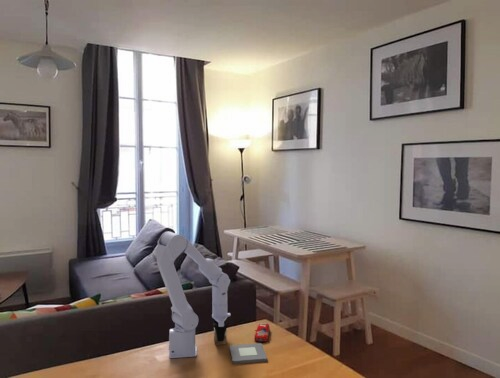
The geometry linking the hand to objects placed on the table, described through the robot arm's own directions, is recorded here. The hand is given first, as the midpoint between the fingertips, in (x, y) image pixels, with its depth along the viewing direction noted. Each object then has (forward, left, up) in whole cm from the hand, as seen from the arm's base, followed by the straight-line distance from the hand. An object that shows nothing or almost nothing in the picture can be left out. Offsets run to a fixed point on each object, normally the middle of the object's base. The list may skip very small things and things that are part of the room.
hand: (220, 338), depth 149 cm
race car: (+17, +3, -2) cm, 17 cm away
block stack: (0, 0, -1) cm, 1 cm away
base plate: (+9, -12, -1) cm, 15 cm away
